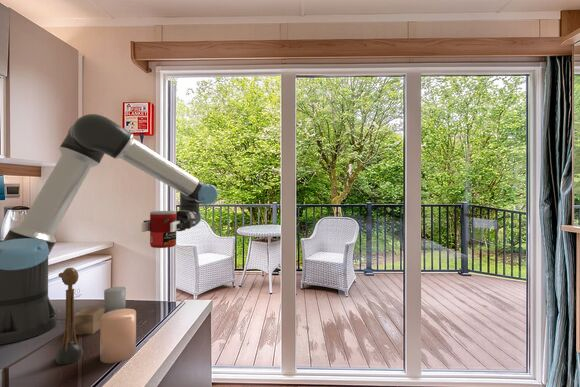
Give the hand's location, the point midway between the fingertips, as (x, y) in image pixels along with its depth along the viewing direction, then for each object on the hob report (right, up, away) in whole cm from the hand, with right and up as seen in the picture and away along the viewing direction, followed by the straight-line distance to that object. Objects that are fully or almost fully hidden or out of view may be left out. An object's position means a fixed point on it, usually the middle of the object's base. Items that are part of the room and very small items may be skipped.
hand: (157, 227), depth 90 cm
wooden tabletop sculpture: (-9, -26, -24) cm, 37 cm away
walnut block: (-13, -26, -11) cm, 31 cm away
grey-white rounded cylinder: (-13, -26, 0) cm, 29 cm away
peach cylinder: (+2, -26, -23) cm, 35 cm away
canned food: (0, -7, +5) cm, 8 cm away
